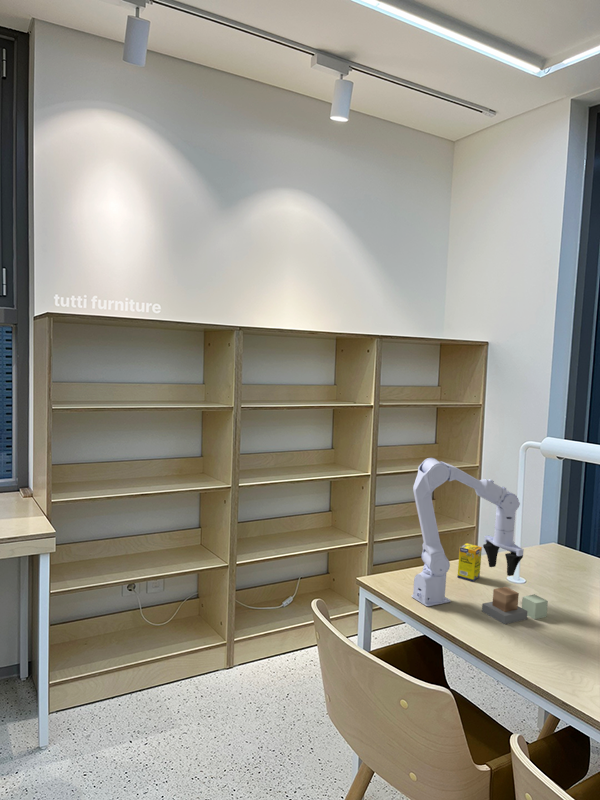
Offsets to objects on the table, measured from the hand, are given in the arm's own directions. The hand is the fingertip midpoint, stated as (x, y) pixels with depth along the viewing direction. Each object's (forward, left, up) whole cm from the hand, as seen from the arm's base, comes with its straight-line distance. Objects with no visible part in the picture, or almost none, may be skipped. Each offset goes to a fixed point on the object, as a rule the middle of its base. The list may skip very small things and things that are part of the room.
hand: (501, 570), depth 187 cm
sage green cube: (+2, -12, -10) cm, 15 cm away
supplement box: (+4, +18, -10) cm, 21 cm away
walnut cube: (-7, -9, -7) cm, 13 cm away
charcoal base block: (-7, -9, -10) cm, 15 cm away
